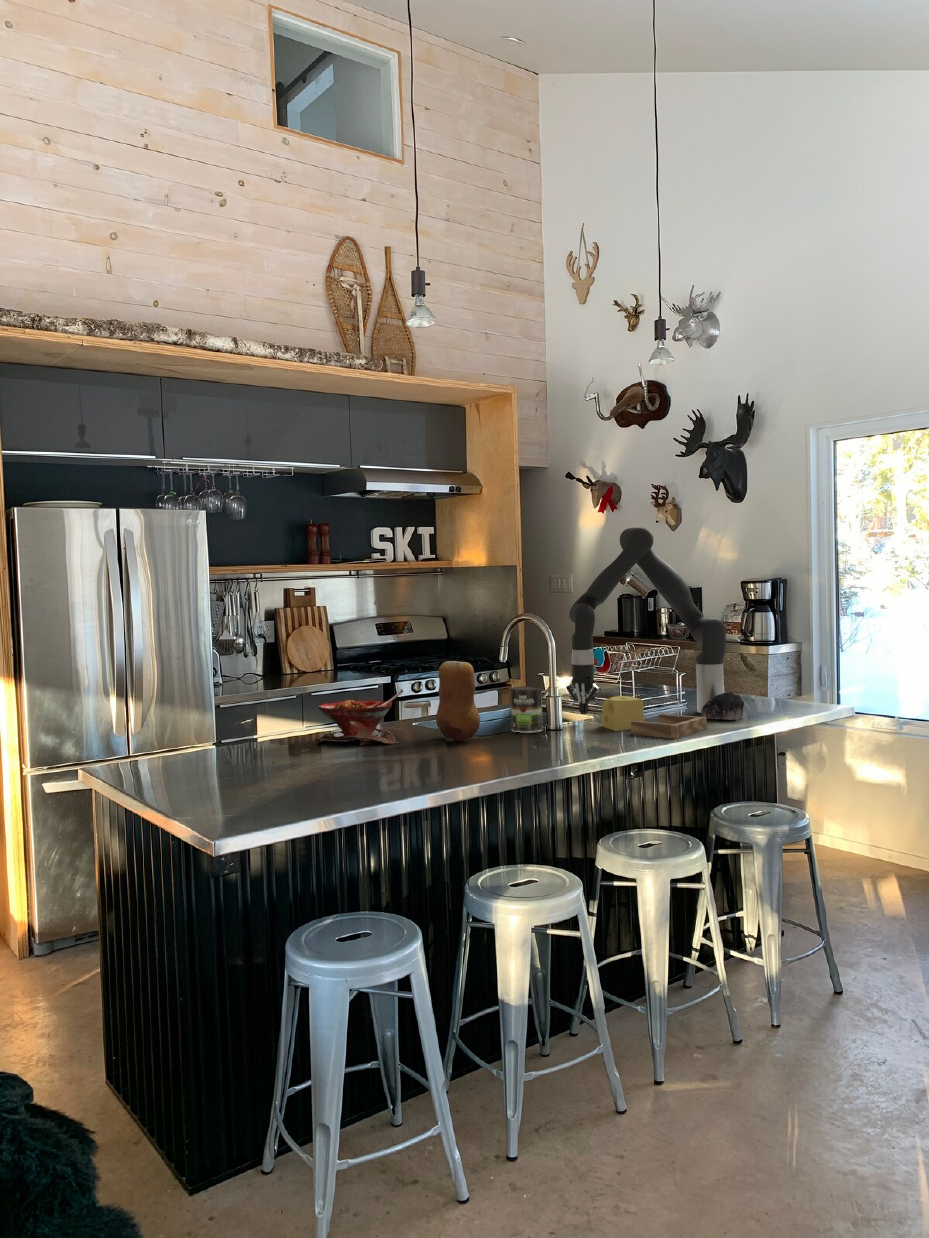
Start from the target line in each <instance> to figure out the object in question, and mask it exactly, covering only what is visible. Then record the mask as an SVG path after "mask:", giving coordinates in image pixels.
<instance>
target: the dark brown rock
mask: <svg viewBox="0 0 929 1238" xmlns="http://www.w3.org/2000/svg"><path fill="white" fill-rule="evenodd" d="M744 707H745V703H744V700H743V699H742V697H741V695H740V694H738V693H734V692H733V691H726V692H724V693H722V694H719V695H716V696H715V697H714V698H711V699H710V700H709V701H708V702H706V704H705V705H704V706H703V708H702V713H701V717H706V720H729V721H735V720H736V721H738V720H740V719H742V718H743V715H744V710H745V709H744Z"/></svg>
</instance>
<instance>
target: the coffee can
mask: <svg viewBox="0 0 929 1238" xmlns="http://www.w3.org/2000/svg"><path fill="white" fill-rule="evenodd" d="M509 690H510V703H511V704H510V708H511V732H512V733H516V732H520V733H519V734H533V733H534V734H535V733H540V732H543V731H544V729H543V697H542V694H543V692H542V690H543V687H540V686H531V685H529V686H513V687H511V688H510V689H509Z"/></svg>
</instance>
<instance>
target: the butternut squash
mask: <svg viewBox="0 0 929 1238" xmlns="http://www.w3.org/2000/svg"><path fill="white" fill-rule="evenodd" d="M437 675H438V680H439V682H438V684H439V686H438V691H437V693H438V697H439V700H438V701H439V704H438V706H437V707H438V708H437V711H436V716H435V723H436V726H437V728H438V729H439V732H440V734H442V736H444V737H445V738H447V739H452V740H454V741H455V740H456V742H465V741H466V740H468V739H471V738H473V737H474V736H475V735H476V734H477V731H478V730H479V729H480V725H481V724H480V723H481V717H480V713H479V710H478V708H477V706H476V703H475V691H476V679H475V671H474V667H473V666H472V664H471V663H470V662H466V661H457V660H452V661H451V660H447V661H444V662H443V663H442V664H441V665H440V667H439V669H438V673H437ZM464 740H465V741H464Z"/></svg>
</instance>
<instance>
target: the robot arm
mask: <svg viewBox="0 0 929 1238" xmlns="http://www.w3.org/2000/svg"><path fill="white" fill-rule="evenodd" d="M619 545H620V547H621V549H622V551H621V552H620V553H619V555H617V557H616V558H615V559H614V560H613V561H612V562H611V563H610V564H608V566H606V567H605V568H604V569H603V570H602V571H601V572H600V573H599V574H598V575H597V577H596V578H594V580H593V581H592V583H591V584H590V585H589V587H588V588H587V590H586V591H585V592H584V593H582V594H581V596H580V597H579V598H578V599H577V600H576V601H575V602H574V603H573V605H572V606H571V607H570V609H569V614H568V616H569V617H568V618H569V620H570V621H571V622H572V623H574V633H572V636H571V651H572V652H571V677H572V679H571V683H570V684H569V685H567V686H565V688H566V690H567V691H568V693H569V694H570V696H571V698H572V700H573V701H574V702H578V711H579V712H578V713H580V715H587V714H588V713H589V703H591V702H593V701H594V700H595V699H596V697H597V696H598V695H599V692H600V691H601V689H602V688H601V687H600V686H597V685H596V682H595V679H594V677H595V654H594V640H593V636H594V635H593V634H594V631H595V630H594V629H595V625H596V624H595V623H596V613H595V610H596V609H597V608H598V606H600V605H602V604H604V603H605V601H606V600H607V599H608V597H610V595H611V594H612V593H613V591H614V590H615V588H617V586H618V584H619V583H620V582H621V581H622V579H624V577H625V576H626V574H628V572H629V571H630V570H631V569H632V568H633V567H634V566H635V565H637V566H638V567H639V568H640V569H641V571H642V572H643V573H644V575H645V576H646V577H647V579H648V580H649V581H650V582H651V584H652V585H653V586H654V588H655V590H656V591H658V593H659V594H660V596H662V598H663V599H664V601H666V603H667V604H668V605H669V606H670V607H671V609H672V610H673V611H674V613H675V614H676V615H677V616H678V617H679V618H680V620H681V621H682V623H683V624H684V626H685V628H686V629H687V630H688V632H689V634H690V635H691V637H692V638H693V639H694V641H696V642H697V643H699V644H702V645H701V646H702V647H701V652H700V653H699V654H697V655H696V657H695V668H696V670H695V671H696V709H697V713H699V714H702V708H703V706H704V705H705V704H706V702H708V701H709V700H710V699H711V698H714V697H715V696H716V695H719V694H722V693H725V684H724V683H725V682H724V680H725V679H724V676H725V675H724V658H725V656H726V648H727V647H726V646H727V645H726V643H727V641H726V640H727V632H726V626H725V624H724V622H723V621H722V620H721V619H719V618H714V617H707V616H705V615H704V614H703V613H702V612H701V611H700V610H699V608H698V607H697V606H696V604H695V603H694V602H695V601H694V600H693V596H692V592H691V589H690V587H689V585H688V583H687V582H686V581H685V580H684V579H683V577H682V575H680V573H679V572H678V571H677V570H676V569H675V568H674V567H672V566H671V565H670V564H669V563H668V562H666V561H665V560H663V559H662V558H661V557H660V556H659V555H657V554H656V552H655V551H654V550H653V549H652V547H653V546H654V536H653V533H652V532H651V531H650V529H648V528H645V527H629V528H626V529H624V530H623V531H622V532H621V534H620V535H619Z"/></svg>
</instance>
